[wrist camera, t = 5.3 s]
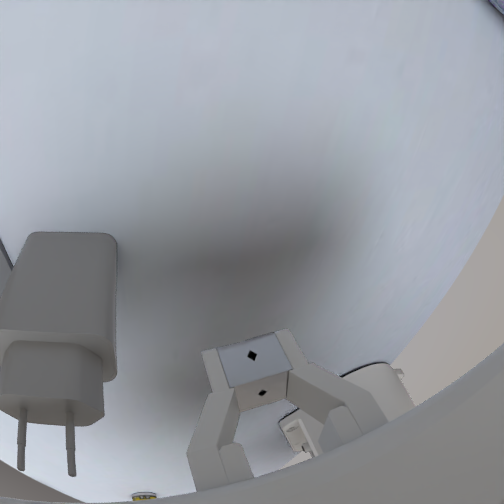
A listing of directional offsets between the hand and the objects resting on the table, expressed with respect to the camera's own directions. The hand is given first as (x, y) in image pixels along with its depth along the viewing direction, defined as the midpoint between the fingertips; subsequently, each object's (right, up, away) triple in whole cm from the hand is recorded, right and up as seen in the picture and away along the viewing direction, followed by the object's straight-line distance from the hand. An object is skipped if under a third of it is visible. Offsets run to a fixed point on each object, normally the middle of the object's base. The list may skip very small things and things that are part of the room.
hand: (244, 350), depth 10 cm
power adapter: (-10, +3, +5) cm, 12 cm away
